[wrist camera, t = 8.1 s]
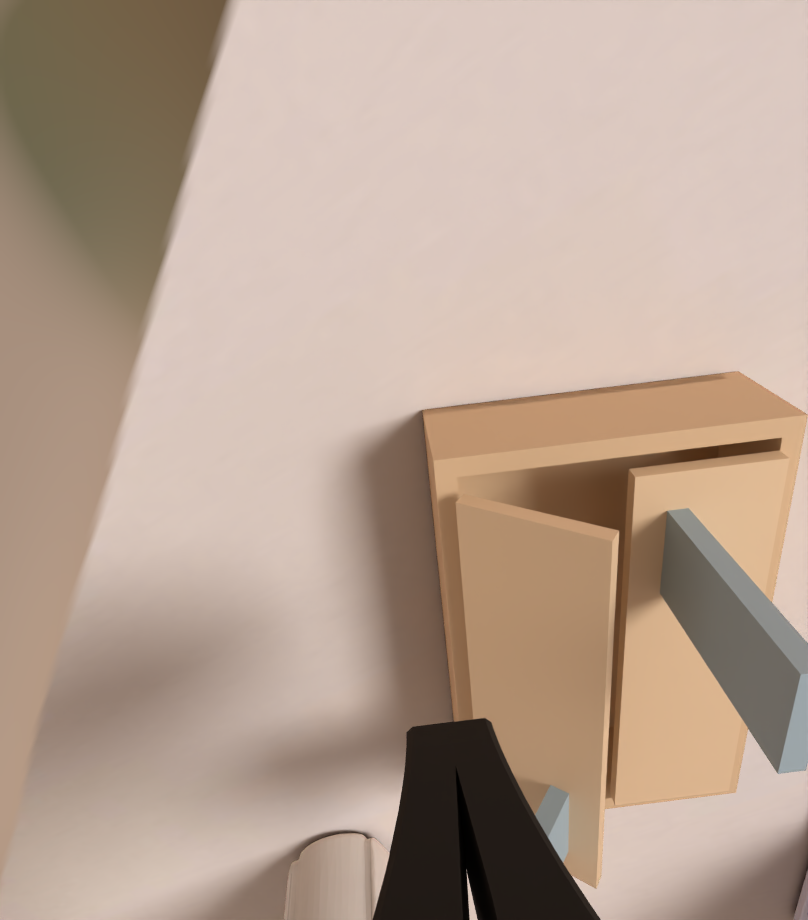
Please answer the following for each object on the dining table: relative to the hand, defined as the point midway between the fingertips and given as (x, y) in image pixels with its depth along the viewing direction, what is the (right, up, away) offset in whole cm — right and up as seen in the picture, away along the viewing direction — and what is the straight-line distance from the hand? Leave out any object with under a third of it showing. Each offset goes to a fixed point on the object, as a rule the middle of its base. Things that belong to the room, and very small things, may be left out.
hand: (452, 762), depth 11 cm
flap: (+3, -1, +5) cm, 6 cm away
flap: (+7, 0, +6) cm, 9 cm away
